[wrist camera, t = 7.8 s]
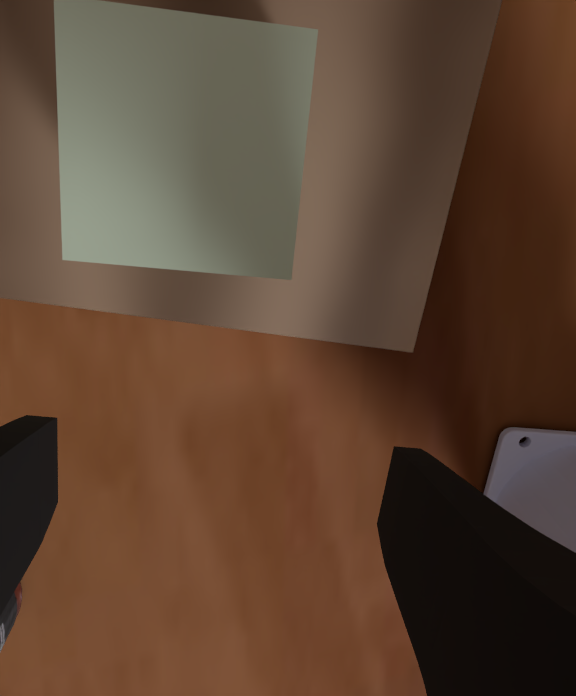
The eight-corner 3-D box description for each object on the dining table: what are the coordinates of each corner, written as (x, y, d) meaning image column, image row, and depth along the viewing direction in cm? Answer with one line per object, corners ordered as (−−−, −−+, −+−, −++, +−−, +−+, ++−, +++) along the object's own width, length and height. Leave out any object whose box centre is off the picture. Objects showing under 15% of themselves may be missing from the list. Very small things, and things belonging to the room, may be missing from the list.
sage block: (294, 70, 16) (318, 29, 11) (278, 239, 18) (291, 280, 12) (122, 49, 16) (53, -7, 10) (122, 224, 18) (62, 259, 12)
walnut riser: (471, -7, 19) (511, -35, 16) (392, 327, 23) (412, 352, 20) (-25, -114, 17) (-81, -167, 14) (-17, 270, 21) (-58, 290, 18)
